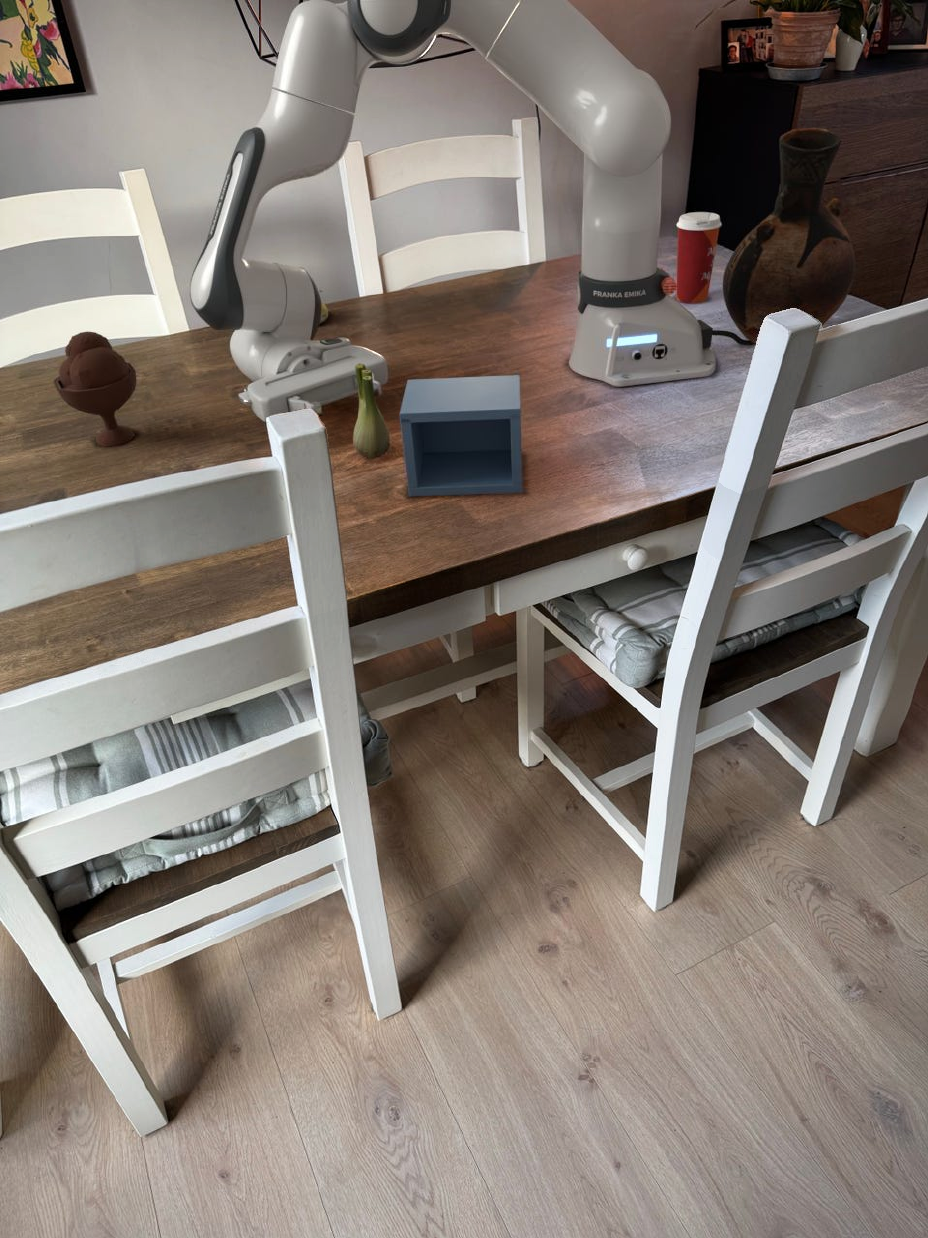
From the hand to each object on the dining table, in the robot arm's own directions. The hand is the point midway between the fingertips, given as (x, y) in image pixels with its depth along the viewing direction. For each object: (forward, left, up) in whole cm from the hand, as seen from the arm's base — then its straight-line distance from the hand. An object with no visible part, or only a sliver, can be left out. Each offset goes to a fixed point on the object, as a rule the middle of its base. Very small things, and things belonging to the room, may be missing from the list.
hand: (347, 401), depth 115 cm
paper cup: (-55, -54, -6) cm, 77 cm away
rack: (-16, +11, -6) cm, 20 cm away
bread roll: (+17, -52, -6) cm, 55 cm away
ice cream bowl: (+36, -4, -6) cm, 37 cm away
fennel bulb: (-3, +4, -6) cm, 8 cm away
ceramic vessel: (-65, -31, -6) cm, 72 cm away
